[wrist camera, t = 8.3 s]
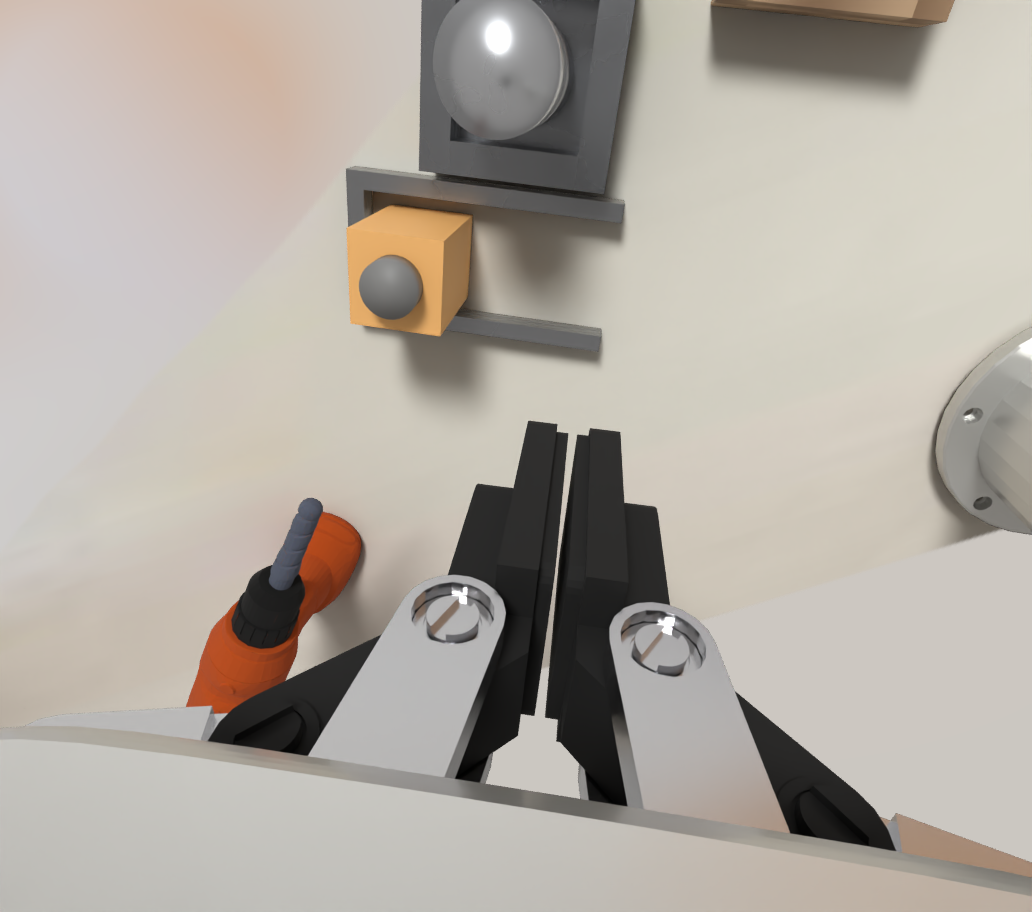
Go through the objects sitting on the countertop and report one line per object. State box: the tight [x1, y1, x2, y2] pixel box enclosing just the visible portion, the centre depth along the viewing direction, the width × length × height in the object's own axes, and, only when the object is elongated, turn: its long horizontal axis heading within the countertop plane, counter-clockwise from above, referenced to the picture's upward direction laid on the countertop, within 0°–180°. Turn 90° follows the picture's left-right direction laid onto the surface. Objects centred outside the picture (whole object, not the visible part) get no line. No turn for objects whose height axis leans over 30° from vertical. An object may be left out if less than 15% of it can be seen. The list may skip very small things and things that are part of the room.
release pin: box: [347, 204, 473, 336], centre depth 28 cm, size 4×4×7 cm
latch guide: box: [346, 166, 625, 352], centre depth 30 cm, size 13×7×1 cm, turn 84°
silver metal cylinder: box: [433, 0, 574, 140], centre depth 22 cm, size 4×4×8 cm
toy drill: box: [186, 498, 361, 714], centre depth 33 cm, size 5×19×15 cm, turn 152°
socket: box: [419, 0, 635, 194], centre depth 25 cm, size 8×8×3 cm
